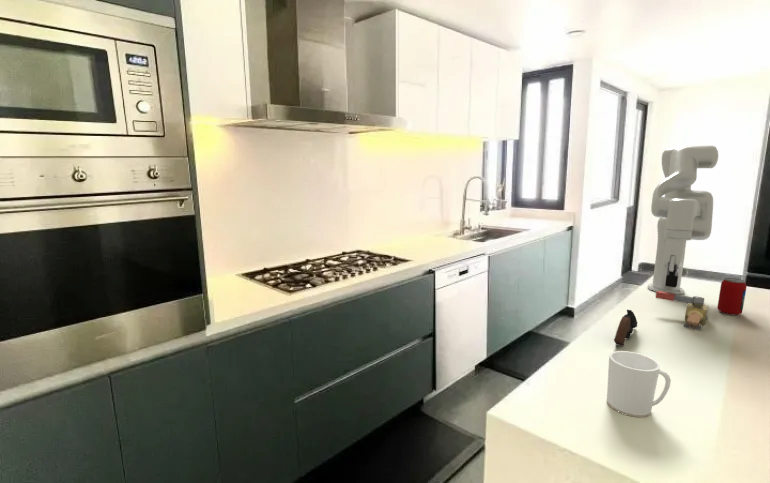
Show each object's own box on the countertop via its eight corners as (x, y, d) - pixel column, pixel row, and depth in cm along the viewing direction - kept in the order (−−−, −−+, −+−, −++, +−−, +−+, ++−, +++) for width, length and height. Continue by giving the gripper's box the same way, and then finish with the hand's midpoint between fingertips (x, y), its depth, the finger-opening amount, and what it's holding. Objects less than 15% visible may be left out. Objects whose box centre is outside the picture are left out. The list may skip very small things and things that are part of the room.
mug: (598, 405, 85) (603, 360, 83) (612, 390, 91) (616, 347, 90) (659, 429, 77) (666, 379, 76) (670, 410, 84) (677, 364, 82)
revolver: (610, 339, 113) (620, 301, 116) (621, 354, 126) (629, 320, 129) (624, 343, 111) (633, 304, 114) (633, 358, 124) (641, 322, 127)
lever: (703, 305, 134) (704, 297, 133) (702, 307, 132) (703, 299, 131) (656, 296, 142) (657, 289, 142) (655, 298, 140) (656, 291, 140)
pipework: (689, 310, 144) (691, 297, 143) (707, 314, 141) (710, 300, 140) (681, 327, 128) (683, 312, 127) (701, 332, 125) (704, 316, 124)
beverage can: (747, 316, 139) (753, 282, 137) (727, 316, 139) (732, 282, 137) (731, 309, 146) (736, 277, 144) (711, 309, 146) (716, 277, 144)
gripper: (668, 231, 148) (661, 280, 151) (661, 235, 137) (654, 288, 140) (693, 234, 143) (686, 284, 146) (688, 237, 132) (681, 292, 135)
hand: (670, 286), depth 143 cm, fingers closed
